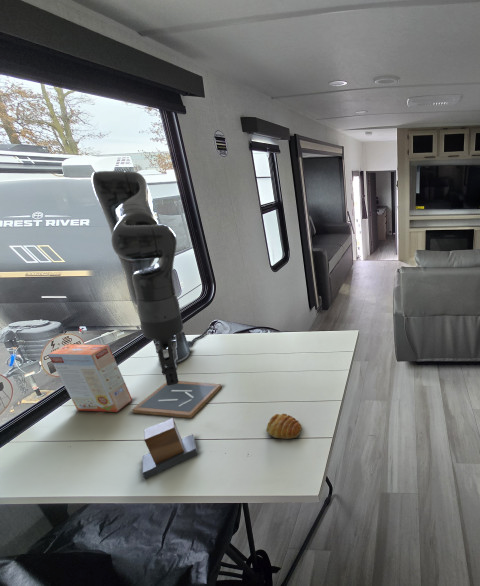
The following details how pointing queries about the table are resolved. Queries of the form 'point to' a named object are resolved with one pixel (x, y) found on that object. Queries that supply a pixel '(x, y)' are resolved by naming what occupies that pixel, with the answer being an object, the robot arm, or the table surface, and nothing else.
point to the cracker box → (91, 377)
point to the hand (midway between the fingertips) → (172, 374)
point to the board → (178, 399)
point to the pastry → (283, 426)
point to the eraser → (166, 447)
